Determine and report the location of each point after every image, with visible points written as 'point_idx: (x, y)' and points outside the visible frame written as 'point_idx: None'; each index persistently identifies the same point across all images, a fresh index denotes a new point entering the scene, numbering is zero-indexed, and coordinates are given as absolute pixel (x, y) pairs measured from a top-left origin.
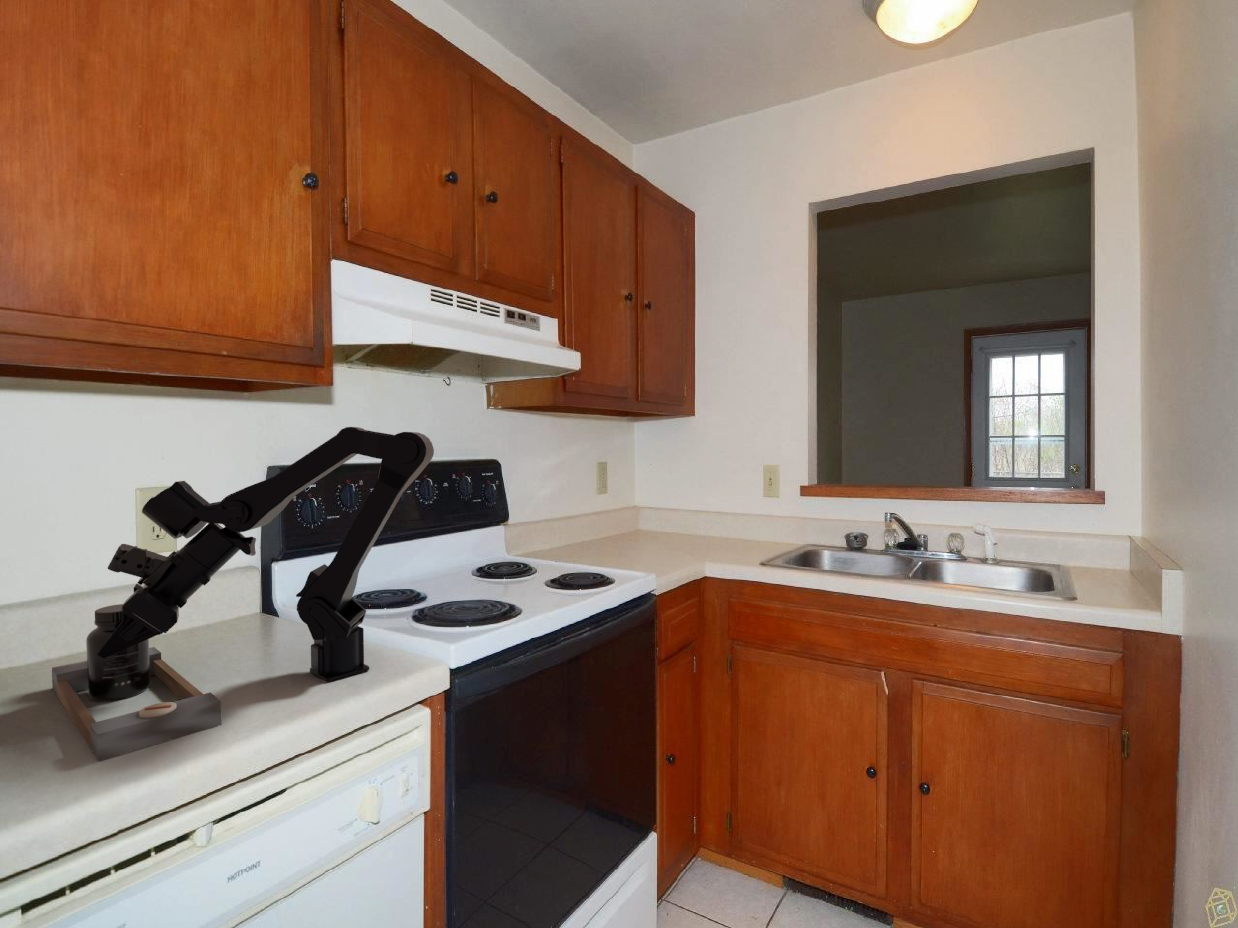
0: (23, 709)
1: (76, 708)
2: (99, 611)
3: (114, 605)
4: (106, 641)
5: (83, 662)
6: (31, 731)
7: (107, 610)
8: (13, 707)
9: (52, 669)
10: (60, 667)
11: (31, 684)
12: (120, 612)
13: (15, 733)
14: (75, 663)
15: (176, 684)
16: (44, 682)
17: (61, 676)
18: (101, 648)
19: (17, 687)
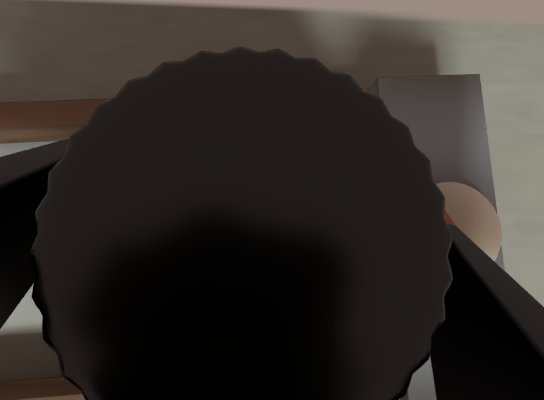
0: (299, 34)
1: (29, 105)
2: (207, 78)
3: (415, 242)
4: (23, 156)
5: (472, 160)
6: (97, 37)
7: (194, 148)
8: (336, 18)
9: (461, 75)
10: (461, 95)
11: (523, 65)
12: (35, 254)
13: (113, 9)
14: (479, 138)
15: (74, 389)
16: (519, 92)
17: (376, 95)
18: (58, 143)
19: (519, 36)
